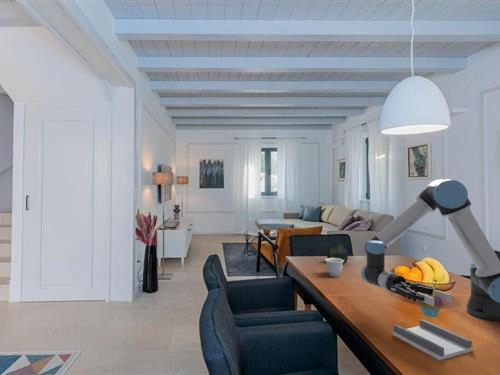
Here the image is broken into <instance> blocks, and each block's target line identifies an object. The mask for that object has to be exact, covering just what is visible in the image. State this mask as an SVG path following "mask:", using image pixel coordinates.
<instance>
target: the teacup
mask: <svg viewBox="0 0 500 375" xmlns="http://www.w3.org/2000/svg"><path fill="white" fill-rule="evenodd" d="M324 261H325V263H326V269H327V270H326V271H327V272H328V273H329V276H330V277H333V278H335V277H340V274H341V273H342V271H343V265H344V264H343V262H344V260H343V259H340V258H327V257H326V258H325V259H324Z"/></svg>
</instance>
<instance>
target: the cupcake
mask: <svg viewBox="0 0 500 375" xmlns="http://www.w3.org/2000/svg"><path fill="white" fill-rule="evenodd" d="M433 287H434V288H433V294H432V295H428V294H427V295H428V296H431V297H433V298H434V306H432V305H429V304H427V303H424V302H422V301H419V300H417V299H416V304H417V305H418V306H419V307H420V309H421V312H422V314H423V315H424V316H425V317H428V318H437V317H438V316H439V313H440V311H441V309H443V308H444V302H443V301H444V300H441V299H439V298H438V297H436V296H434V295H435V289H436V288H437V282H434V285H433Z"/></svg>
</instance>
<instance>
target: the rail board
mask: <svg viewBox="0 0 500 375" xmlns="http://www.w3.org/2000/svg"><path fill="white" fill-rule="evenodd" d="M392 335H393V336H395V337H396V338H398V339H400V340H401V341H403V342H406V343H407V344H410V345H411V346H413V347H414V348H417V349H418V350H420V351H422V352H423V353H426V354H428V355H429V356H430V357H432V358H435V359H436V360H439V361H443V360H446V359H450V358H453V357H456V356H460V355H463V354H466V353H470V352H473V346H472V342H473V341H472V340H471V339H470V338H466V337H464V336H462V335H460V334H458V333H455V332H453V331H451V330H448V329H446V328H444V327H442V326H439V325H437V324H435V323H433V322H431V321H428V320H426V319H423V318H420V319H419V325H417V326H413V327H412V326H411V327H408V328H406V327H403V326H401V325H399V324H393V332H392Z"/></svg>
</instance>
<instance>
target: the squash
mask: <svg viewBox="0 0 500 375" xmlns="http://www.w3.org/2000/svg"><path fill="white" fill-rule="evenodd" d="M327 258H340V259H343V260H344V262H343V265H344V264H346V263H347V261H348V260H349V259H348V258H349V255H348V252H347V250H346V248H345V247H344V245H343V244H337V245H334V246H332V247H330V248H329V249H328V252H327V254H326V259H327Z"/></svg>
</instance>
